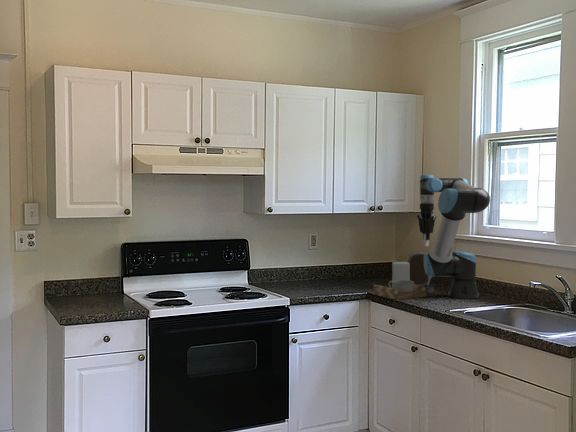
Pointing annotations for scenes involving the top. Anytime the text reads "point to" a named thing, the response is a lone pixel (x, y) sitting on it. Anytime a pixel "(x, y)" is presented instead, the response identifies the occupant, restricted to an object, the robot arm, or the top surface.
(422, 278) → the dark brown rounded block
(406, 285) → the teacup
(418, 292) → the bay
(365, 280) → the top surface
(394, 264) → the supplement box
